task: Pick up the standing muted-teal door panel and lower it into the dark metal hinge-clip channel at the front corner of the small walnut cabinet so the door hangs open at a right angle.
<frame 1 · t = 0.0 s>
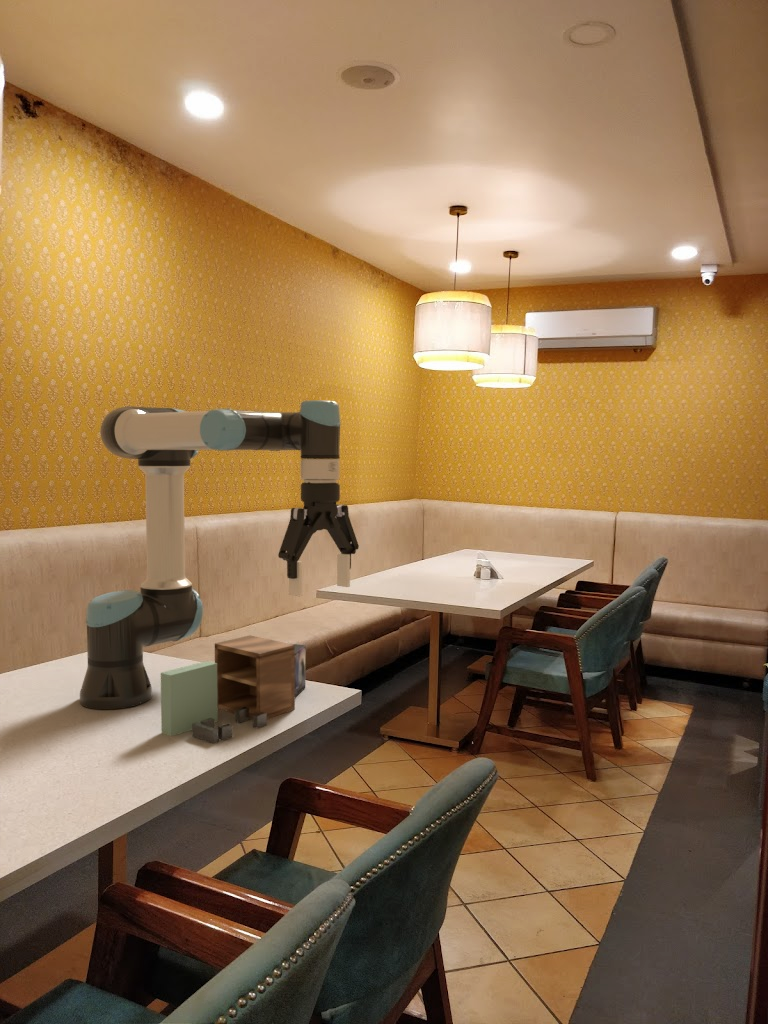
hand: (320, 590, 158), 28 cm above the table, fingers open, 13 cm apart
small box: (286, 694, 185), on the table
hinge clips: (234, 729, 161), on the table
cabinet: (254, 708, 174), on the table
door: (190, 726, 162), on the table
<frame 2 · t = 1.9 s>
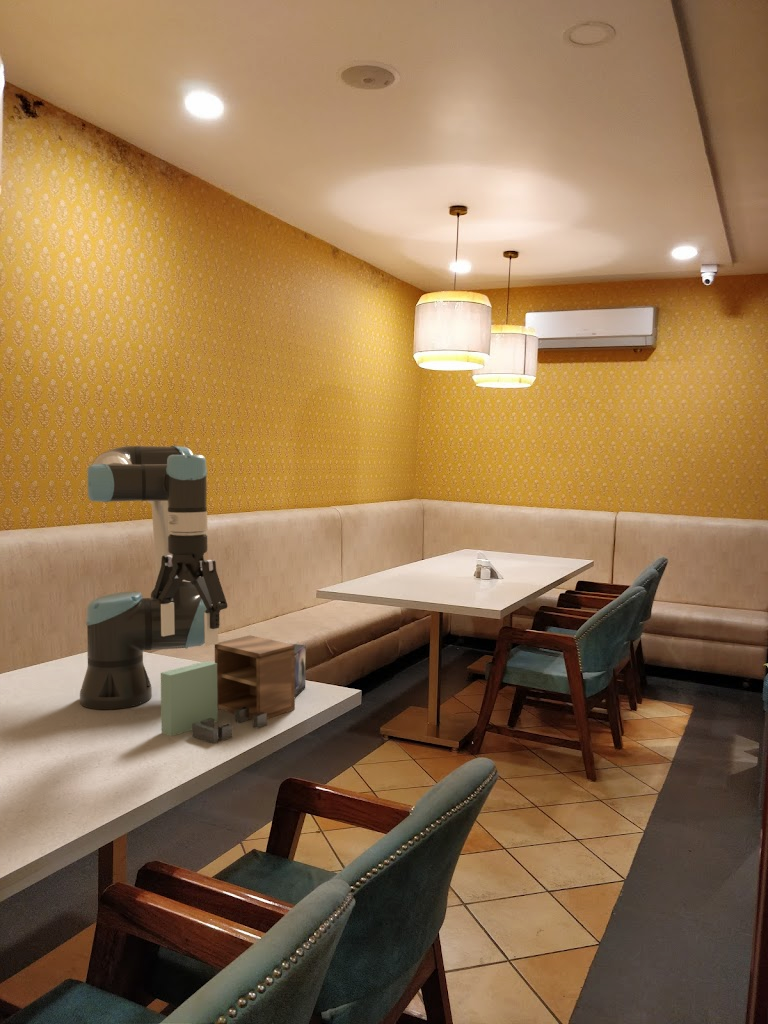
hand: (189, 640, 161), 18 cm above the table, fingers open, 13 cm apart
nothing on the table moved.
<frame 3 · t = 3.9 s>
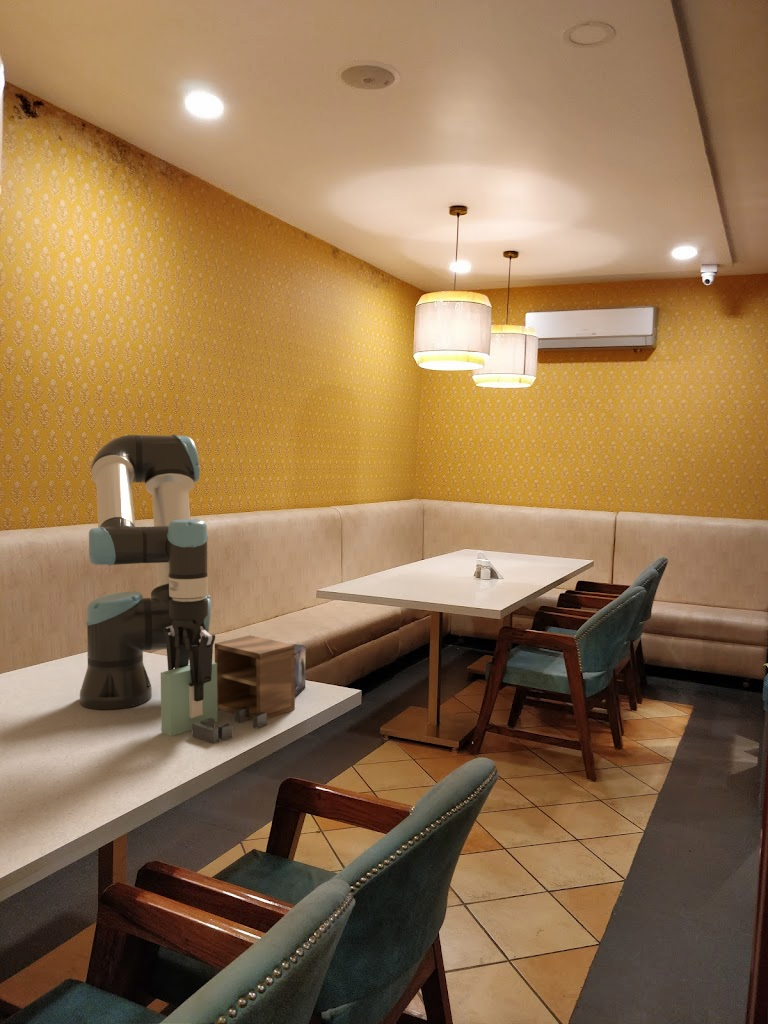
hand: (189, 713, 162), 3 cm above the table, fingers closed on door, 3 cm apart
door: (190, 726, 162), on the table, touching gripper
everything else where it was.
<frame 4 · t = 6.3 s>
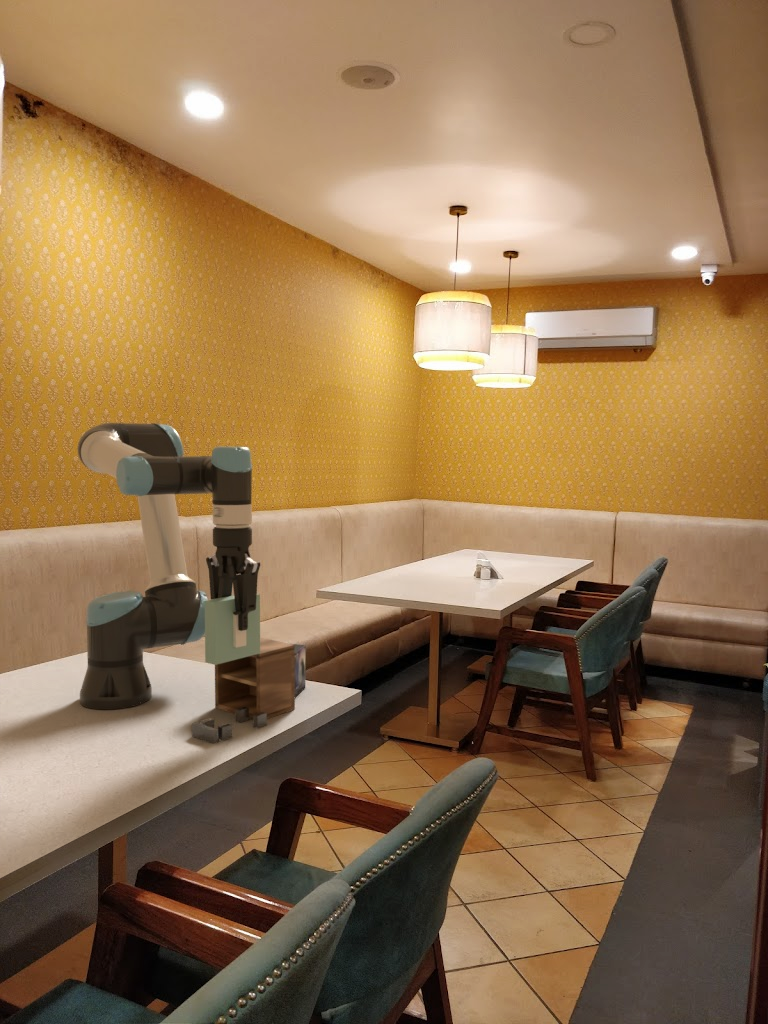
hand: (233, 644, 160), 17 cm above the table, fingers closed on door, 3 cm apart
door: (233, 657, 160), point 14 cm above the table, touching gripper
everything else where it was.
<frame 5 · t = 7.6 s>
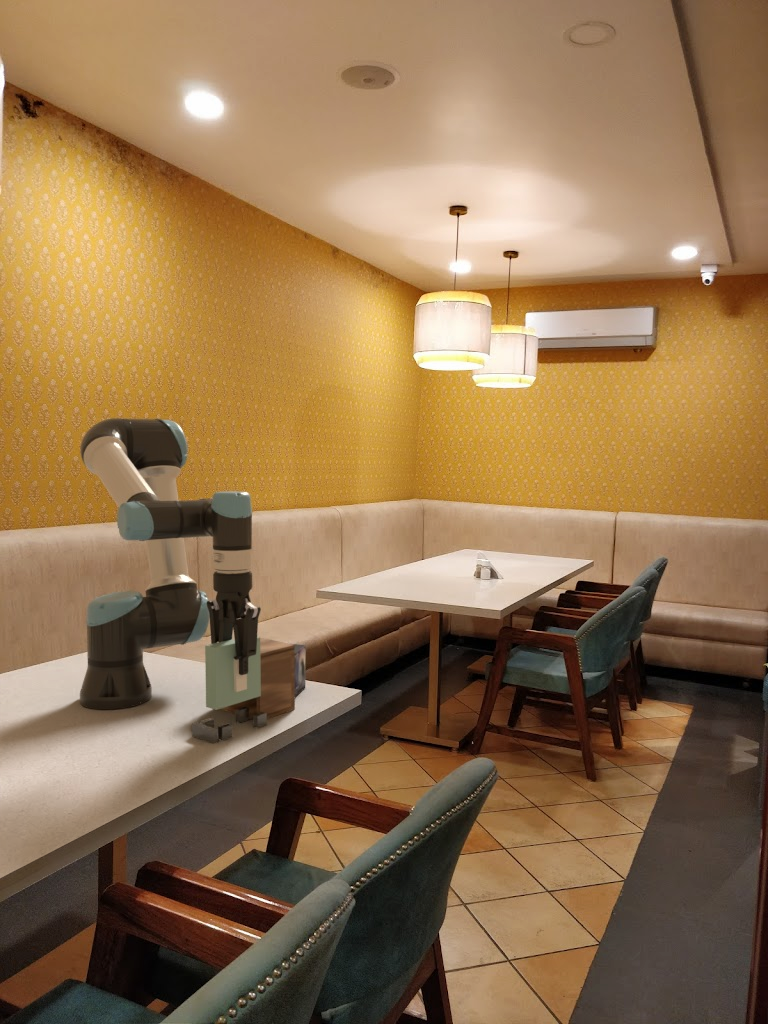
hand: (234, 688, 160), 8 cm above the table, fingers closed on door, 3 cm apart
door: (234, 701, 160), point 6 cm above the table, touching gripper
everything else where it was.
when the fingers open (4 cm above the table, at t = 8.7 s): door drops 1 cm, on the table.
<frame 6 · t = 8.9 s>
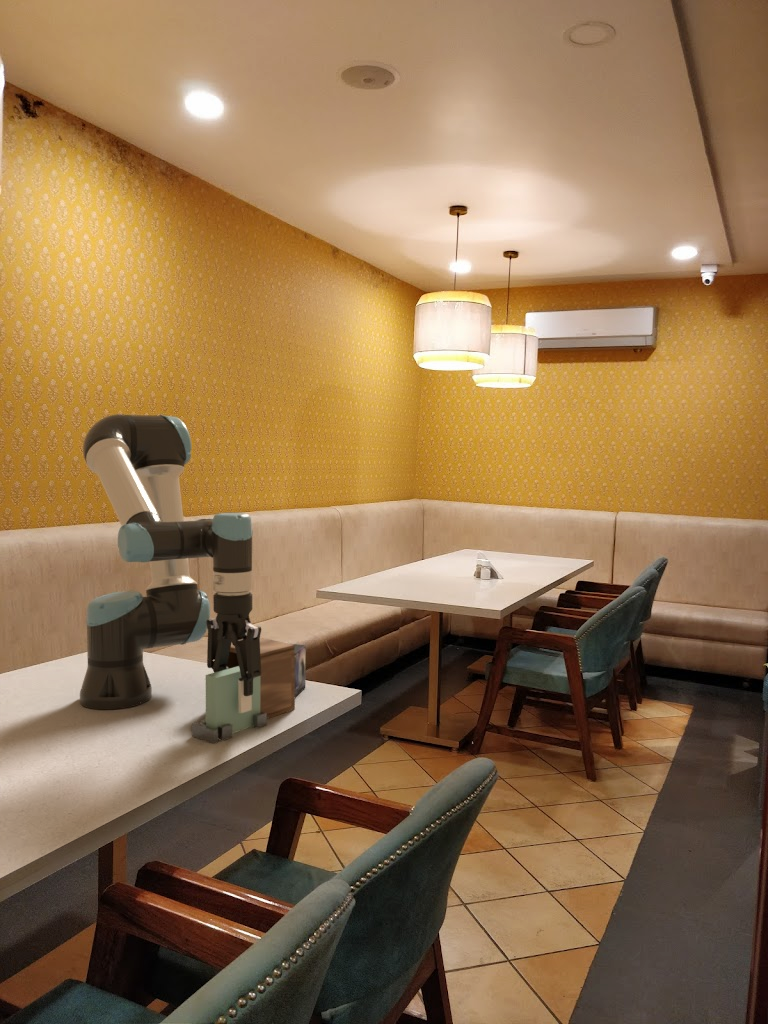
hand: (233, 707, 161), 4 cm above the table, fingers open, 6 cm apart
door: (233, 729, 161), on the table
everything else where it was.
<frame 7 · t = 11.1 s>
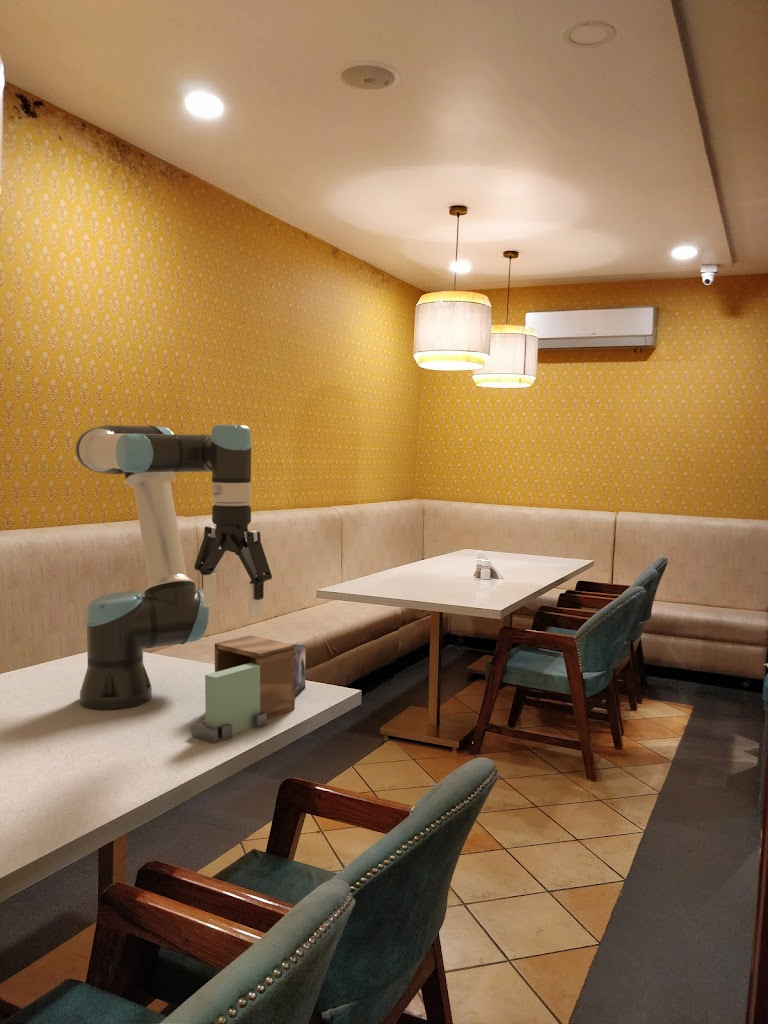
hand: (231, 611, 161), 23 cm above the table, fingers open, 13 cm apart
nothing on the table moved.
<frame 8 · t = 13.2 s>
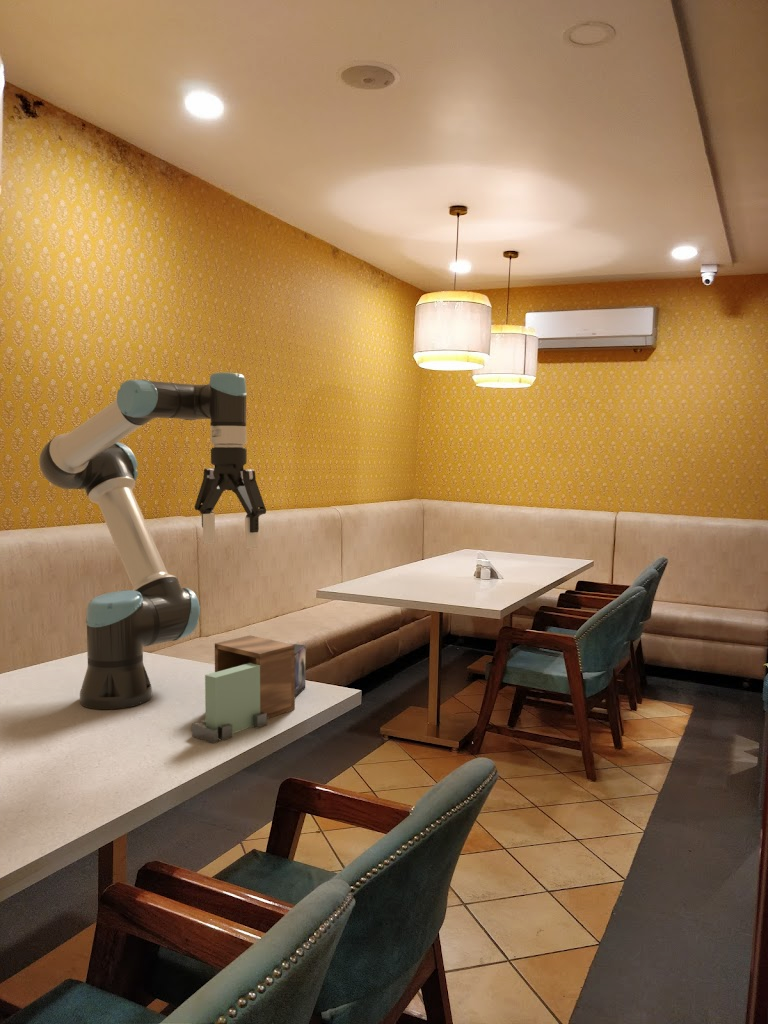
hand: (229, 545, 175), 35 cm above the table, fingers open, 13 cm apart
nothing on the table moved.
at the end: door 0.1 cm from the target spot, on the table; door tilted 0°; the gripper is holding nothing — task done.
